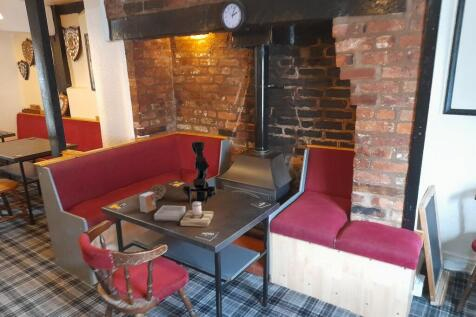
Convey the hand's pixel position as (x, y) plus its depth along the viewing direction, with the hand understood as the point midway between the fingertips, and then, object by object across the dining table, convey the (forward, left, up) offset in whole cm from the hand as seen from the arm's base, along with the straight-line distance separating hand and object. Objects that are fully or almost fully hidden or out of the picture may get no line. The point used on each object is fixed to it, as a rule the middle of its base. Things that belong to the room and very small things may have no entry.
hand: (197, 203), depth 191 cm
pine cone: (-14, -42, -9) cm, 45 cm away
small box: (-1, -36, -9) cm, 37 cm away
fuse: (+2, 0, -9) cm, 9 cm away
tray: (+2, -18, -9) cm, 20 cm away
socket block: (+2, 0, -9) cm, 9 cm away
